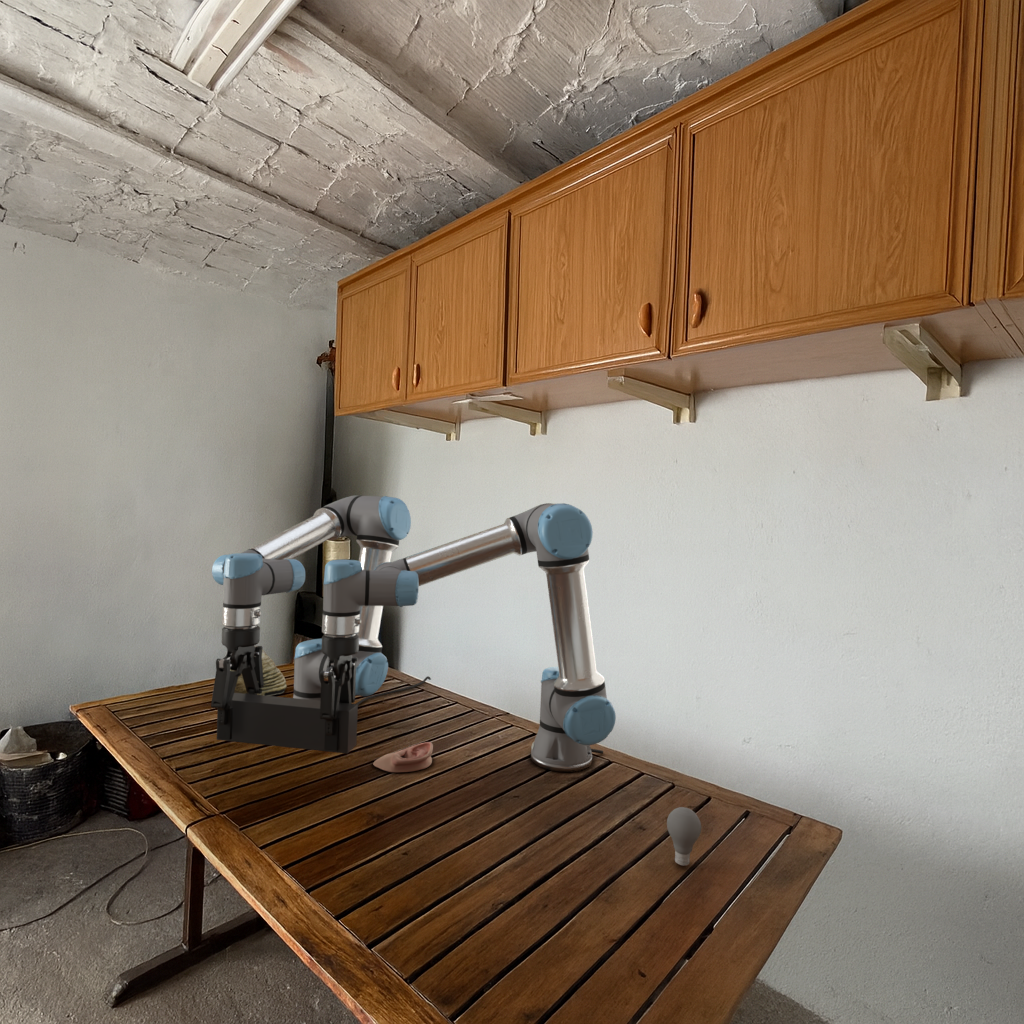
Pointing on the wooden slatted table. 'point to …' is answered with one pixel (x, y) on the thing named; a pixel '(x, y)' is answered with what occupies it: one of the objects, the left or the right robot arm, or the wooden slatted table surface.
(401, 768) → the anatomical model
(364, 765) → the wooden slatted table surface
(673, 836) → the light bulb
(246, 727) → the bar
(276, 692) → the fossil
